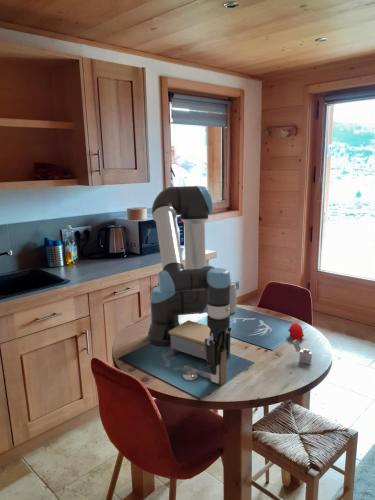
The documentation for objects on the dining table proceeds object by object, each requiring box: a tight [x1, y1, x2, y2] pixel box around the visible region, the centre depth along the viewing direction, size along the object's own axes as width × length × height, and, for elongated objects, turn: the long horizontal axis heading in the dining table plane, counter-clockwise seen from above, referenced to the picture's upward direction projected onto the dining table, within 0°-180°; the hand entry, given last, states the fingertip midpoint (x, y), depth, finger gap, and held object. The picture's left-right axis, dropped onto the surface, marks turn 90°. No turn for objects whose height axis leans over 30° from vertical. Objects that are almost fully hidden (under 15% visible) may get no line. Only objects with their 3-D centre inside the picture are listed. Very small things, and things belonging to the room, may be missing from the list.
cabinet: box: [169, 319, 233, 361], centre depth 149 cm, size 21×14×10 cm, turn 54°
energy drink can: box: [230, 282, 237, 315], centre depth 193 cm, size 6×6×15 cm
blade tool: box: [183, 347, 227, 386], centre depth 135 cm, size 16×4×12 cm, turn 54°
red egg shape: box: [287, 322, 305, 342], centre depth 164 cm, size 8×6×6 cm
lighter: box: [292, 340, 313, 365], centre depth 145 cm, size 7×2×8 cm, turn 58°
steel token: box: [182, 370, 198, 382], centre depth 136 cm, size 5×5×1 cm
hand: (218, 378), depth 132 cm, fingers closed on blade tool, 3 cm apart
